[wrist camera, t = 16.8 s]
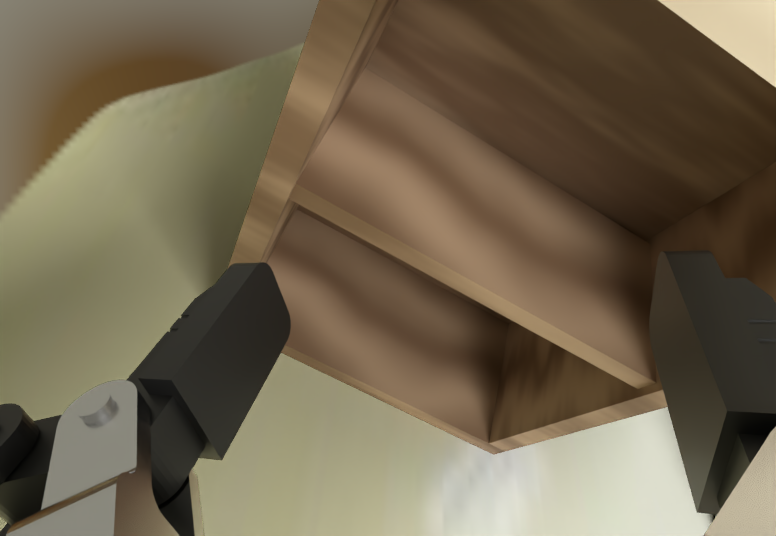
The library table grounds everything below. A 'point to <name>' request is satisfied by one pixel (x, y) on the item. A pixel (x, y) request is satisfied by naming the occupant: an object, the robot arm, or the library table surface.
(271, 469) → the library table surface
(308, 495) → the library table surface
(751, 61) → the maple stick
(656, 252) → the dovetailed wooden cabinet
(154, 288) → the library table surface
